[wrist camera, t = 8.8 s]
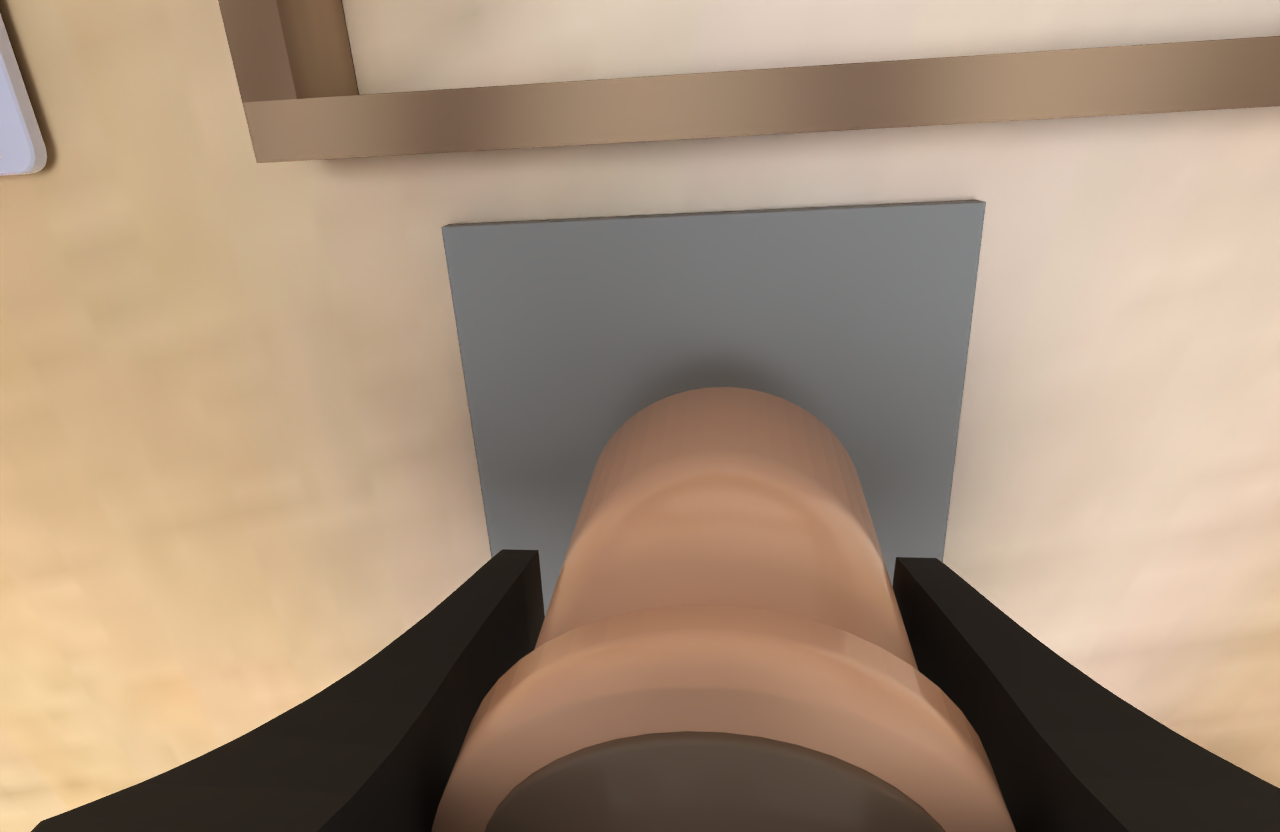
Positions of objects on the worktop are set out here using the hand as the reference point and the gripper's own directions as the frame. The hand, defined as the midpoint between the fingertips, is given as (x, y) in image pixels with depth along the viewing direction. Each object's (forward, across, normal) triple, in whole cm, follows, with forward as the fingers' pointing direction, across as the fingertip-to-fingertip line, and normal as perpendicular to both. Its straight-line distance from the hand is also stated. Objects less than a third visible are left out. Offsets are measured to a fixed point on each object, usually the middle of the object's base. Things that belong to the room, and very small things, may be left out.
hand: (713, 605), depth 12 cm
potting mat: (+6, 0, 0) cm, 6 cm away
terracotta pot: (+2, 0, -1) cm, 2 cm away
